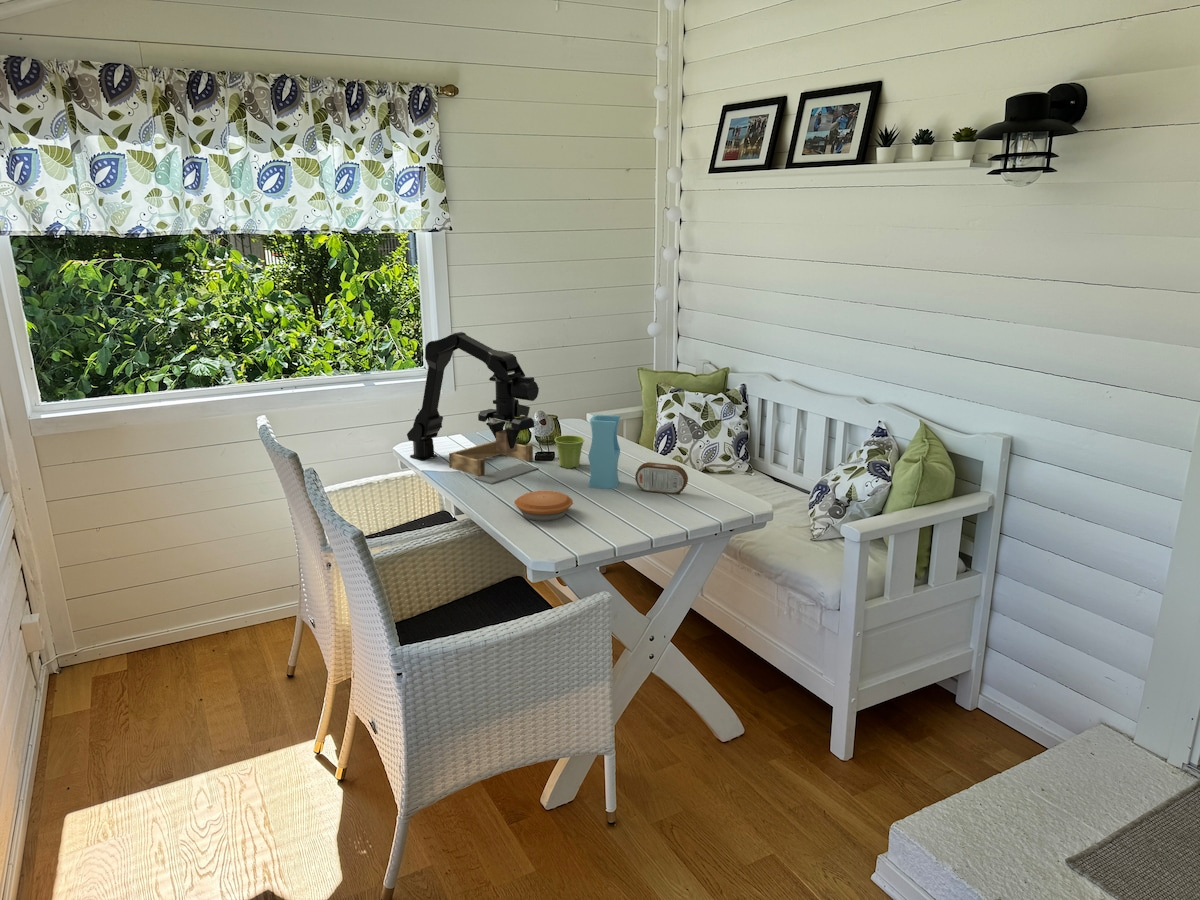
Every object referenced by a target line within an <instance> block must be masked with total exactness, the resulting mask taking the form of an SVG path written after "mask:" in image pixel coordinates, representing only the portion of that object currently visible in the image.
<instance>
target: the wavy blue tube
mask: <svg viewBox="0 0 1200 900" xmlns="http://www.w3.org/2000/svg"><path fill="white" fill-rule="evenodd" d="M620 420H621V415H611V414H593V415H592V417H590V419H589V422H590V427H591V428H590V429H591V444H590V448H589V452H588V455H587V457H588V458H587V459H588V462H589V467H590V478H589V483H588V488H592V489H593V488H594V489H595V488H597V489H607V490H610V489H612V490H613V489H616V488H617V486H618V485H619V482H620V481H619V473H618V472H619V471H618V466H619V458H620V456H621V454H620V453H621V448H620V444H619V442H618V427H619V424H620V423H619V422H620Z"/></svg>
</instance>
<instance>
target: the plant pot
mask: <svg viewBox="0 0 1200 900" xmlns="http://www.w3.org/2000/svg"><path fill="white" fill-rule="evenodd" d="M554 442H555V445H556V449H557V453H558V462H559V466H560V467H562V468H564V469H573V468H578V467H579V466H580V460H581V455H582V454H581V453H582V449H583V444H584V442H585V438H584V437H582V436H578V435H568V434H567V435H561V436H557V437H555V438H554Z"/></svg>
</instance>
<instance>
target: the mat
mask: <svg viewBox="0 0 1200 900" xmlns="http://www.w3.org/2000/svg"><path fill="white" fill-rule="evenodd" d="M539 469H540V468H539V467H538V466H537V467H536V466H533V465H529V464H526V463H524V462H523V463H518V464H516V465H512V466H508V467H506V468H503V469H500V470H496V471H493V472H490V473H487V474H486V473H485V475H483V476H480V477H479V476H475V477H474V480H476V481H479V482H483V483H486V484H490V485H493V484H496V483H499V482H503V481H506V480H508V479H511V478H515V477H518V476H521V475H524V474H528V473H531V472H534V471H537V470H539Z"/></svg>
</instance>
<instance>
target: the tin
mask: <svg viewBox="0 0 1200 900" xmlns="http://www.w3.org/2000/svg"><path fill="white" fill-rule="evenodd" d="M634 478H635V482H636V485H637V486H638V487H639V489H641V490H642V491H645V492H648V493H655V494H656V493H658V494H666V495H667V494H668V495H677V494H679V493H682V492H683V490H685V488H686V487H687V485H688V483H689V476H688V474H687V472H686V470H685V469H684V468H683V467H682V466H680V465H676V464H669V463H659V462H651V461H650V462H648V461H647V462H645V463H643V464H641V465H640V466H638V468H637V471H635V477H634Z"/></svg>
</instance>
